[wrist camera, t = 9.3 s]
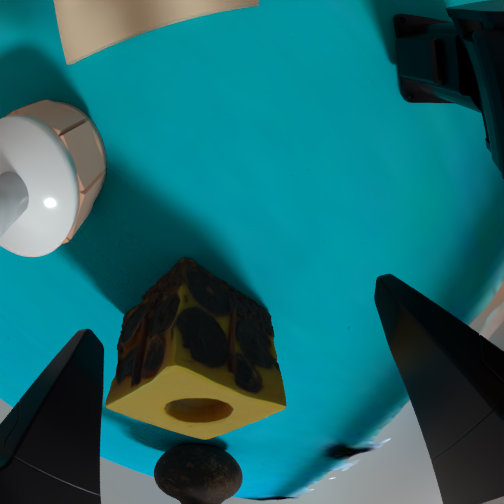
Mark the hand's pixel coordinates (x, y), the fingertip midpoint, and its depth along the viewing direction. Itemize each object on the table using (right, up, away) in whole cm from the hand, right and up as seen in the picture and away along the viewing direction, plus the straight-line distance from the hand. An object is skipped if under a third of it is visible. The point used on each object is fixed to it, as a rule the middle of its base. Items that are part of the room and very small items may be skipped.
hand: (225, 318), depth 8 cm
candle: (-4, -4, +19) cm, 20 cm away
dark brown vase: (-10, -39, +43) cm, 59 cm away
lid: (-13, +6, +5) cm, 15 cm away
